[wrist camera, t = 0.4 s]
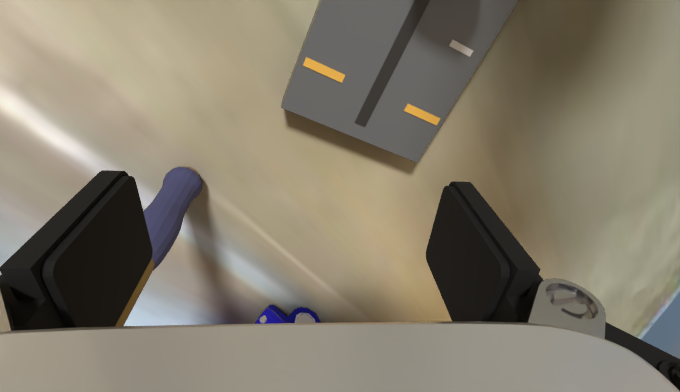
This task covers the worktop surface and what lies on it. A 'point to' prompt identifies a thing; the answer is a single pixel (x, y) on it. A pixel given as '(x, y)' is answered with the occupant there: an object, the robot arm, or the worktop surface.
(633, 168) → the worktop surface
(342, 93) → the console
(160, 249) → the rubber mallet
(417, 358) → the robot arm
